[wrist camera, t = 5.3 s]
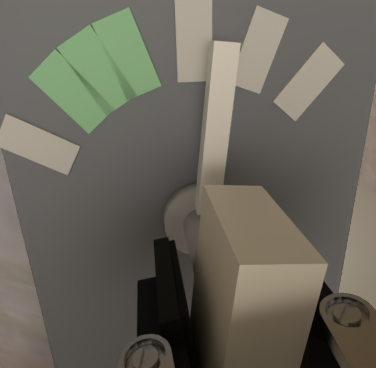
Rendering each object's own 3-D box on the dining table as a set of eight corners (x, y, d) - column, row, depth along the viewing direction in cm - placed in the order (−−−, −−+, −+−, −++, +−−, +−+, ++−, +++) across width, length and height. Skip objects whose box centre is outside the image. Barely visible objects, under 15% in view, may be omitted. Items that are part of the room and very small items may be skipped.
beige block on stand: (222, 275, 18) (293, 476, 9) (160, 276, 17) (178, 489, 9) (253, 45, 14) (428, 48, 5) (173, 38, 13) (229, 31, 5)
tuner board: (317, 343, 22) (328, 361, 21) (63, 376, 21) (58, 398, 19) (381, -57, 14) (405, -67, 13) (-39, -59, 12) (-60, -70, 11)
